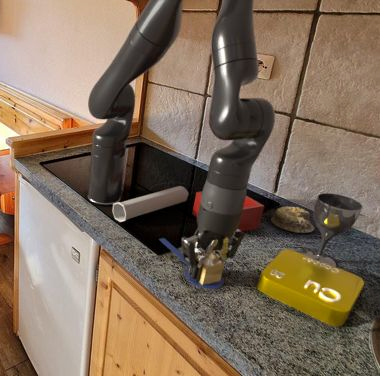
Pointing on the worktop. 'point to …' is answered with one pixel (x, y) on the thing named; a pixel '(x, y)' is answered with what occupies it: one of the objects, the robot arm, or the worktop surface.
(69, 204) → the worktop surface
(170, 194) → the tube
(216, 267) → the block
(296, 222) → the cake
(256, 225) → the red open tray
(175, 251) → the spoon
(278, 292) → the element tile
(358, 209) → the wine glass
